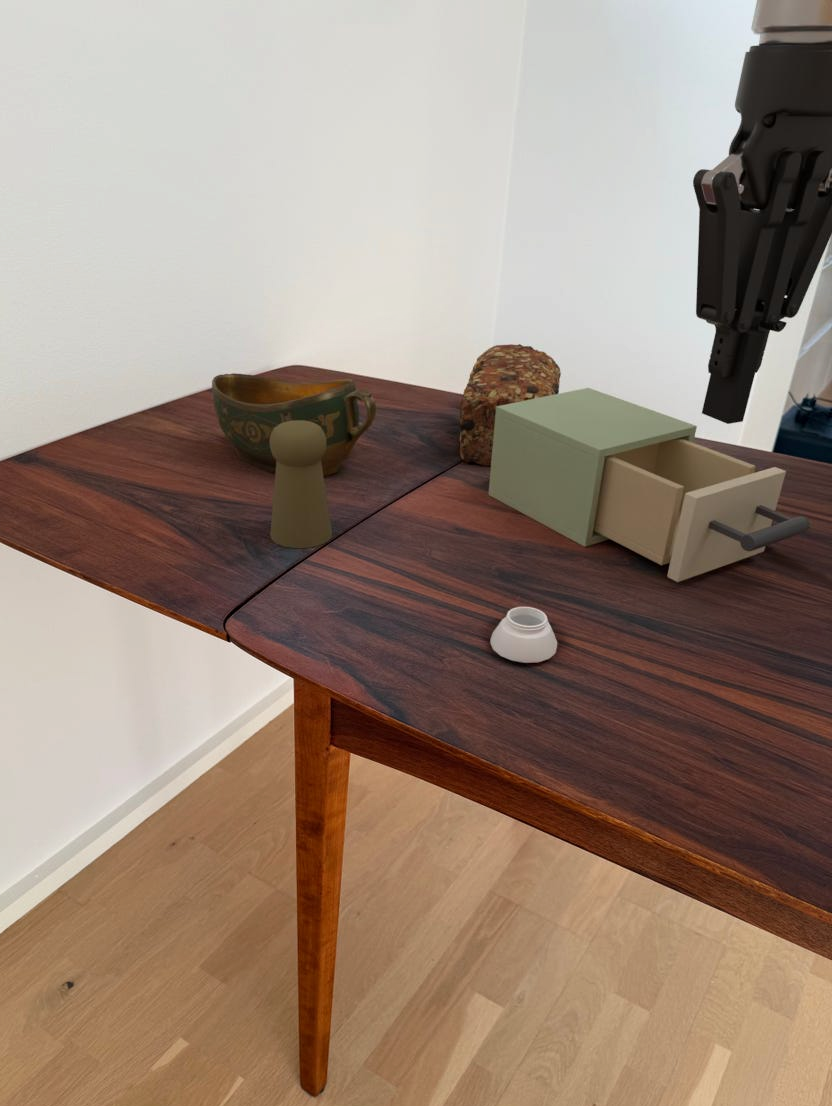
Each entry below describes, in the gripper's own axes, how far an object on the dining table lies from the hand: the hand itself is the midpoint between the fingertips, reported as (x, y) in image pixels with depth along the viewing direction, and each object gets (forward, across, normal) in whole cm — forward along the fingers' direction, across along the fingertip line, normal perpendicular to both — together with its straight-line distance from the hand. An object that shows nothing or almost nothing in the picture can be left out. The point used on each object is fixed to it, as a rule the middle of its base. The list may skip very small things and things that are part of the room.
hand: (722, 417), depth 67 cm
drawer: (+15, -6, -6) cm, 17 cm away
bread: (+16, -8, -39) cm, 43 cm away
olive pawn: (+16, +25, -25) cm, 39 cm away
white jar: (+16, +17, +1) cm, 23 cm away
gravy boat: (+16, +19, -43) cm, 50 cm away
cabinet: (+16, -4, -19) cm, 25 cm away
